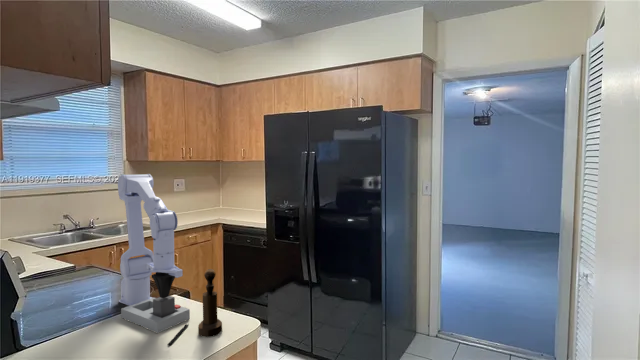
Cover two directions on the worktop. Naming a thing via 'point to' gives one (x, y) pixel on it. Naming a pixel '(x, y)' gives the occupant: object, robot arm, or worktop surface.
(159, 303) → the plug
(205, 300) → the dark brown pepper mill
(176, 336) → the thin black rod
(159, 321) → the socket plate
